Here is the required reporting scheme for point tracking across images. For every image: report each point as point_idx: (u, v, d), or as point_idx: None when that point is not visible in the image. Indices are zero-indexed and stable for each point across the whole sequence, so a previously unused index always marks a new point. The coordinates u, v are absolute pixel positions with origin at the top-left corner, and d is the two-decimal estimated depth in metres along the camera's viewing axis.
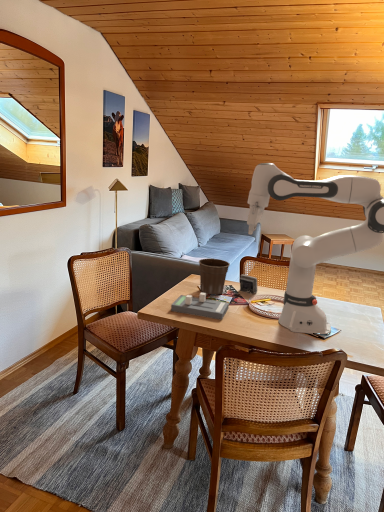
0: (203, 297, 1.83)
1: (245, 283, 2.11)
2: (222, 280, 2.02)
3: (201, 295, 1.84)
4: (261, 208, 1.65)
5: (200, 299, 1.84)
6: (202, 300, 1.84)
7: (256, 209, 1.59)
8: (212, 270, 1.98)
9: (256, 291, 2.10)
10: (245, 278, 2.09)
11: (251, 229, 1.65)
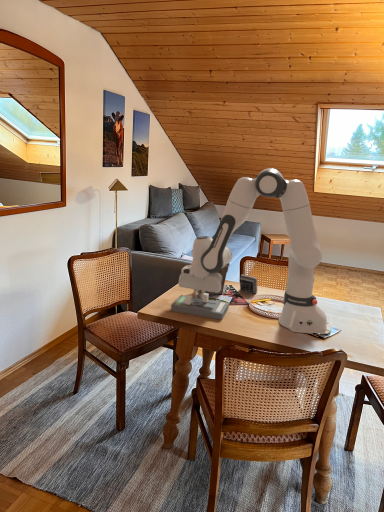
0: (206, 297, 1.83)
1: (245, 283, 2.11)
2: (222, 280, 2.02)
3: (204, 295, 1.83)
4: None
5: (203, 299, 1.84)
6: (205, 300, 1.84)
7: None
8: None
9: (256, 291, 2.10)
10: (245, 278, 2.09)
11: (203, 293, 1.85)
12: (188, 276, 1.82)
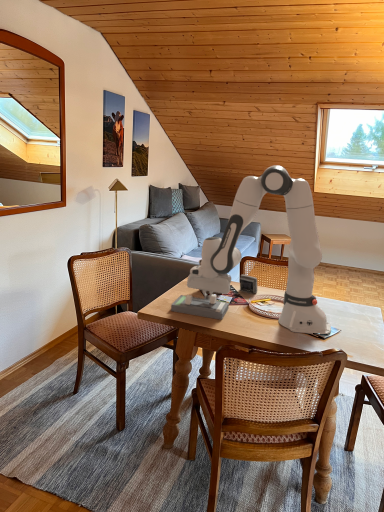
0: (214, 299, 1.82)
1: (245, 283, 2.11)
2: None
3: (212, 297, 1.82)
4: None
5: (211, 301, 1.83)
6: (213, 302, 1.83)
7: None
8: None
9: (256, 291, 2.10)
10: (245, 278, 2.09)
11: (211, 294, 1.84)
12: (197, 277, 1.81)
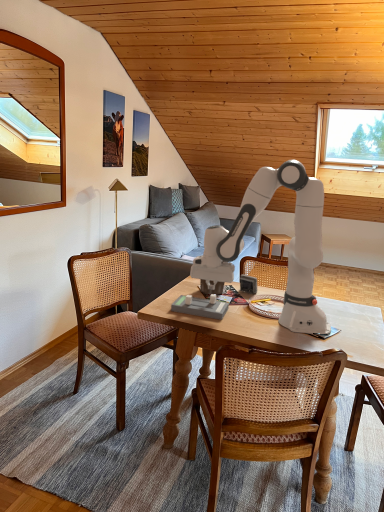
0: (213, 299, 1.82)
1: (245, 283, 2.11)
2: None
3: (211, 297, 1.82)
4: None
5: (210, 301, 1.83)
6: (212, 302, 1.83)
7: None
8: None
9: (256, 291, 2.10)
10: (245, 278, 2.09)
11: (215, 284, 1.82)
12: (200, 267, 1.80)
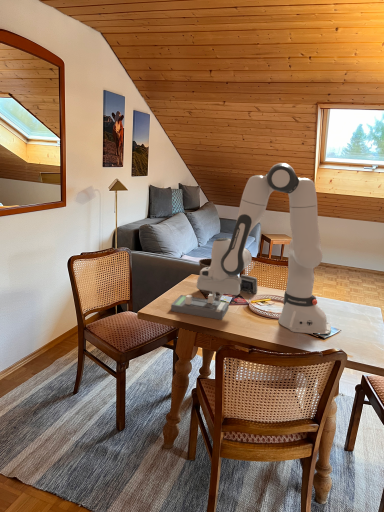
0: (211, 298, 1.82)
1: (245, 283, 2.11)
2: None
3: (209, 296, 1.82)
4: None
5: (208, 300, 1.83)
6: (210, 301, 1.83)
7: None
8: None
9: (256, 291, 2.10)
10: (245, 278, 2.09)
11: None
12: (206, 278, 1.80)
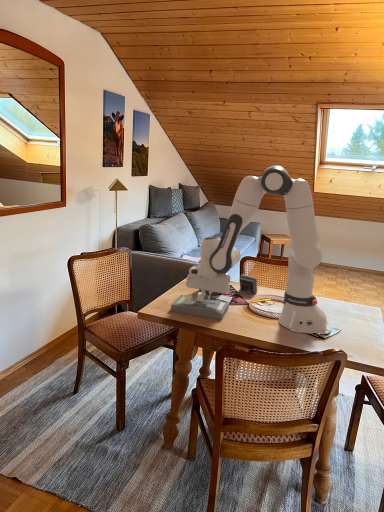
0: (201, 297, 1.84)
1: (245, 283, 2.11)
2: None
3: (199, 295, 1.84)
4: None
5: (198, 299, 1.84)
6: (200, 300, 1.84)
7: None
8: None
9: (256, 291, 2.10)
10: (245, 278, 2.09)
11: (210, 294, 1.84)
12: (196, 276, 1.81)
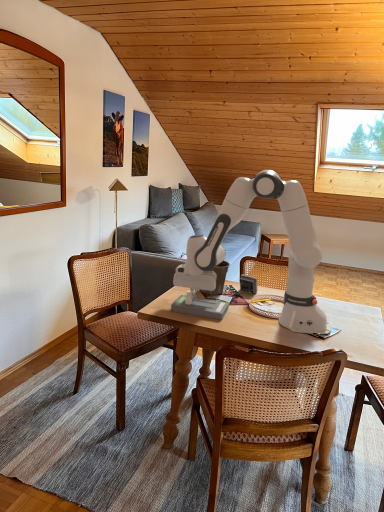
0: None
1: (245, 283, 2.11)
2: (222, 280, 2.02)
3: (188, 293, 1.85)
4: None
5: None
6: None
7: None
8: (212, 270, 1.98)
9: (256, 291, 2.10)
10: (245, 278, 2.09)
11: None
12: (182, 275, 1.83)
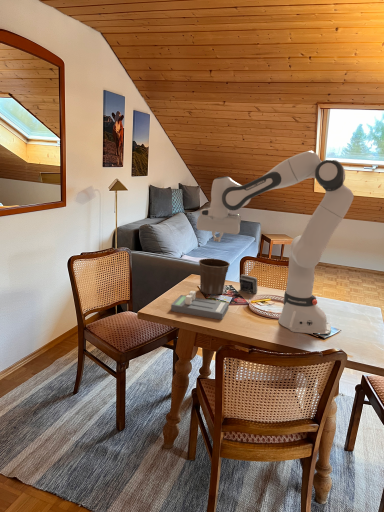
0: (193, 295, 1.85)
1: (245, 283, 2.11)
2: (222, 280, 2.02)
3: (191, 293, 1.85)
4: None
5: None
6: (192, 298, 1.85)
7: None
8: (212, 270, 1.98)
9: (256, 291, 2.10)
10: (245, 278, 2.09)
11: (221, 236, 1.84)
12: (206, 218, 1.82)
